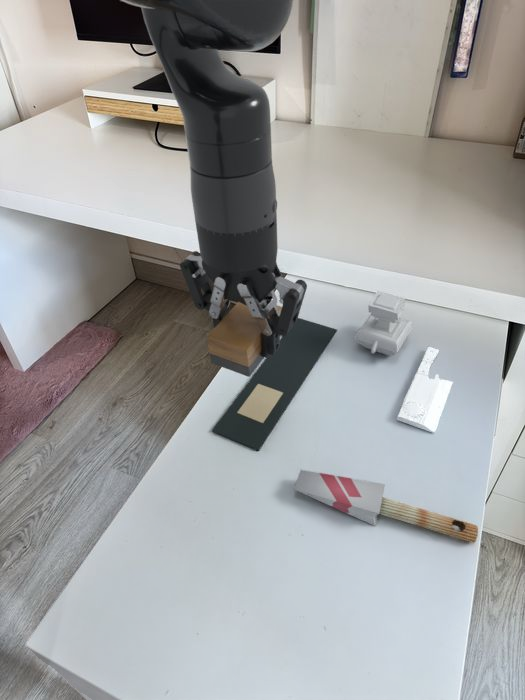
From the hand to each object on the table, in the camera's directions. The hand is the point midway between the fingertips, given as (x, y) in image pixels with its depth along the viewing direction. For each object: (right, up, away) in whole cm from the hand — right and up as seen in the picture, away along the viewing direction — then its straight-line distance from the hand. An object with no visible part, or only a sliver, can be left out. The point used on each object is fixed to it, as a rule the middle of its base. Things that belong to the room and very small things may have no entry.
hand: (247, 345), depth 58 cm
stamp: (+20, 0, +20) cm, 29 cm away
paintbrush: (+15, -19, 0) cm, 24 cm away
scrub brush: (0, 0, 0) cm, 0 cm away
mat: (+4, -4, +16) cm, 17 cm away
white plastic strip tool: (+25, -6, +13) cm, 29 cm away
